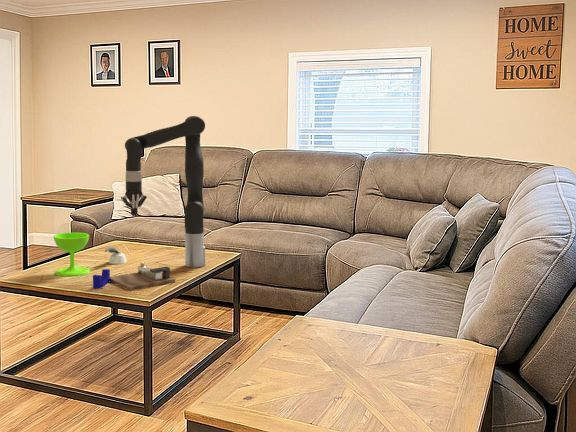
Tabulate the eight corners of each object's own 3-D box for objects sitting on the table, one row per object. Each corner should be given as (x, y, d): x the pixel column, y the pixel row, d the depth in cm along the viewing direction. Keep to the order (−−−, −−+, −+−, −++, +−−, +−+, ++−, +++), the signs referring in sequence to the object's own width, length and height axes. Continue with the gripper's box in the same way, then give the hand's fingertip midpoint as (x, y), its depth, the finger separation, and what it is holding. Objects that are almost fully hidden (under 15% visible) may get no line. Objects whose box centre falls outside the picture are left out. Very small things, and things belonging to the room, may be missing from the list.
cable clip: (100, 281, 286) (100, 268, 285) (110, 282, 285) (109, 269, 284) (89, 288, 274) (89, 275, 273) (99, 289, 274) (99, 275, 273)
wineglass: (48, 272, 299) (47, 235, 296) (78, 266, 311) (77, 231, 308) (66, 278, 289) (64, 240, 286) (96, 272, 301) (95, 235, 298)
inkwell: (129, 260, 327) (129, 241, 325) (115, 268, 309) (115, 249, 308) (112, 259, 328) (112, 241, 326) (98, 267, 310) (97, 248, 309)
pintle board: (152, 273, 302) (152, 260, 301) (175, 282, 287) (175, 268, 286) (107, 280, 287) (107, 266, 286) (129, 290, 272) (129, 276, 271)
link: (136, 272, 296) (136, 262, 295) (144, 271, 299) (144, 261, 298) (154, 280, 283) (154, 270, 282) (162, 278, 286) (162, 268, 285)
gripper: (142, 178, 308) (143, 213, 310) (117, 180, 299) (118, 215, 302) (149, 180, 302) (150, 215, 305) (124, 181, 294) (124, 217, 296)
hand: (134, 215), depth 303 cm, fingers closed
